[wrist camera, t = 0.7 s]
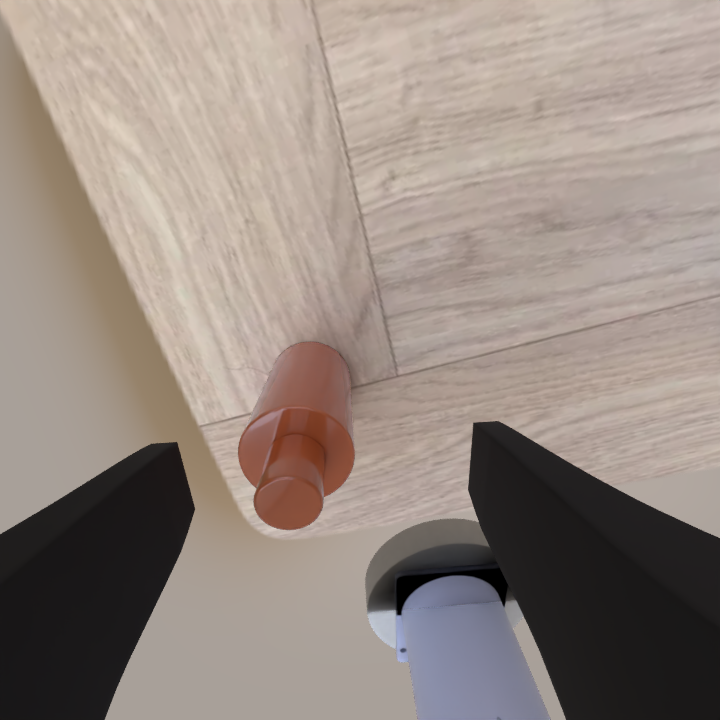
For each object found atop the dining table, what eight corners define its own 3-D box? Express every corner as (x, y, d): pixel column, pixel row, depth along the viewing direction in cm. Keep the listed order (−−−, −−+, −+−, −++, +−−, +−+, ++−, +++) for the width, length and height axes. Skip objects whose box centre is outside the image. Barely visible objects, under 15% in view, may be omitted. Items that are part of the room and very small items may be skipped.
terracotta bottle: (352, 409, 18) (360, 551, 10) (277, 414, 17) (230, 561, 10) (347, 338, 16) (353, 441, 9) (266, 344, 16) (203, 451, 9)
